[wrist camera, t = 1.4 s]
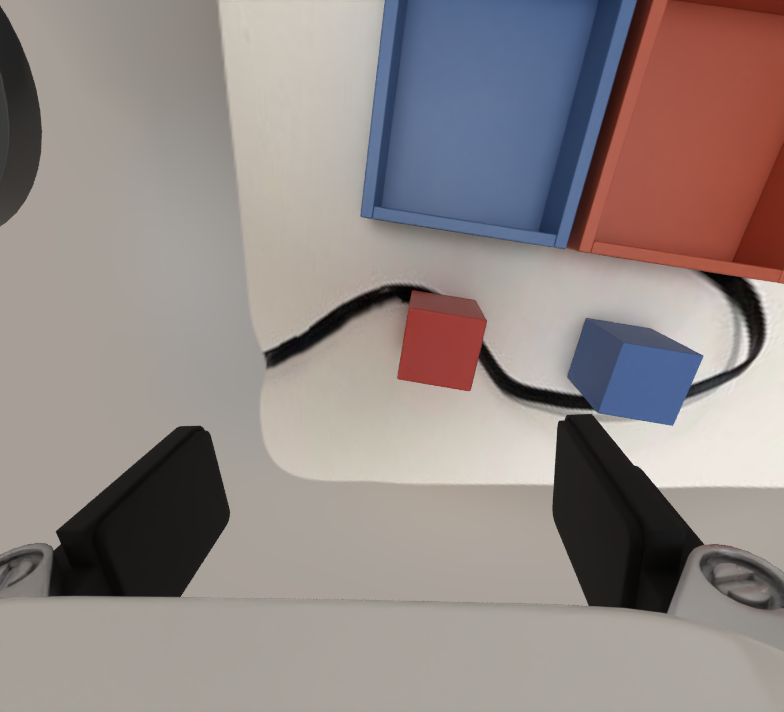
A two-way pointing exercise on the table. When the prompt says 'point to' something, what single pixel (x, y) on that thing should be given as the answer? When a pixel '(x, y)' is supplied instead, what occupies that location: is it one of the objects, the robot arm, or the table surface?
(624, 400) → the blue block
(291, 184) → the table surface
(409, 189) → the blue bin
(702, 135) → the red bin
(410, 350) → the red block
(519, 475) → the table surface
